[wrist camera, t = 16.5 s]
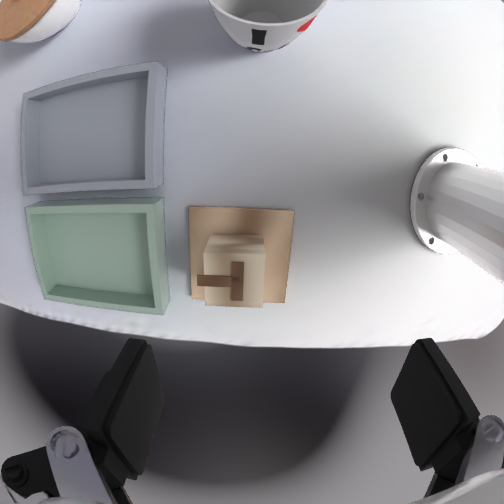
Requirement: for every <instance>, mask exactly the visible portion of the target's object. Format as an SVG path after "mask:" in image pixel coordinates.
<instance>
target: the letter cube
mask: <svg viewBox="0 0 504 504" xmlns="http://www.w3.org/2000/svg"><path fill="white" fill-rule="evenodd" d="M203 256H204V275H200V274H197V286H205V305H208V306H230V307H259V308H262V302H263V288H264V273H265V257H266V254H265V247H264V239H263V235H244V234H213V233H211V235H210V238H209V240H208V243H207V245H206V247H205V250H204V252H203Z"/></svg>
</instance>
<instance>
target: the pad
mask: <svg viewBox="0 0 504 504" xmlns="http://www.w3.org/2000/svg"><path fill="white" fill-rule="evenodd" d="M293 220H294V211H293V210H277V209H258V208H236V207H206V206H190V207H189V240H190V269H191V290H192V299H203V300H205V286H197V274H200V275H204V256H203V252H204V250H205V247H206V245H207V243H208V240H209V238H210V235H211V233H213V234H244V235H263V239H264V247H265V254H266V257H265V273H264V288H263V302H269V303H285V295H286V286H287V278H288V269H289V260H290V250H291V241H292V231H293Z"/></svg>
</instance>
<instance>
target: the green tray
mask: <svg viewBox="0 0 504 504" xmlns="http://www.w3.org/2000/svg"><path fill="white" fill-rule="evenodd" d="M25 212H26V219H27V226H28V232H29V238H30V243H31V248H32V253H33V258H34V262H35V267H36V271H37V275H38V279H39V283H40V286H41V290H42V293H43V297H44V299H46V300H52V301H57V302H63V303H69V304H76V305H82V306H89V307H96V308H103V309H111V310H119V311H127V312H136V313H146V314H155V315H164V313H165V311H166V308H167V306H168V304H169V302H170V294H169V284H168V272H167V259H166V243H165V224H164V198H102V199H74V200H55V201H40V202H37V203H35V204H33V205H30V206H28V207H25Z"/></svg>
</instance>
